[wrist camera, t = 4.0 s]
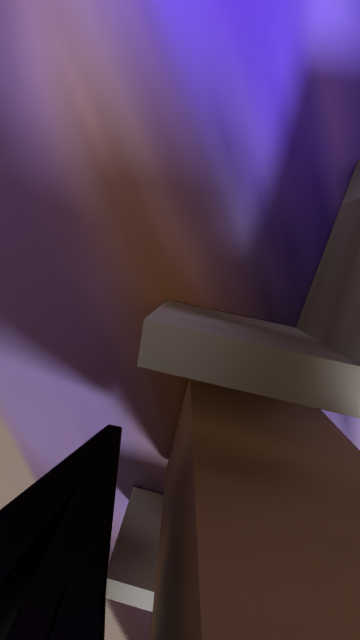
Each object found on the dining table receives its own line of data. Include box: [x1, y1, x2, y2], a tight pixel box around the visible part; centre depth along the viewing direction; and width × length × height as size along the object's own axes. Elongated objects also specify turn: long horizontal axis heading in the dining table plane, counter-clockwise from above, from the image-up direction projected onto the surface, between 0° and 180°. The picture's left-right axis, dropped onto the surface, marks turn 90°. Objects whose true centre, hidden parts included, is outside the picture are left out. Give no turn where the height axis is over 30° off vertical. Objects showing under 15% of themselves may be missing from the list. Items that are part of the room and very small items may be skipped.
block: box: [150, 379, 360, 640], centre depth 5 cm, size 5×5×6 cm
